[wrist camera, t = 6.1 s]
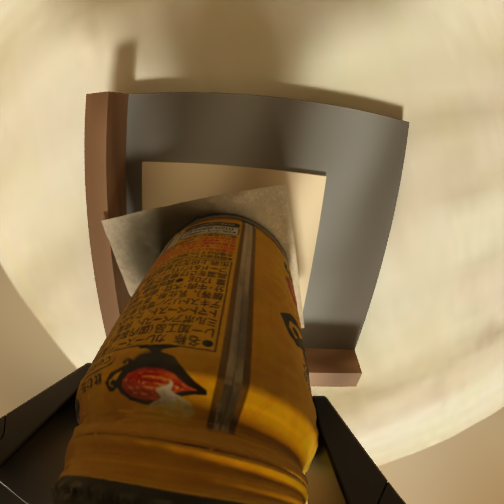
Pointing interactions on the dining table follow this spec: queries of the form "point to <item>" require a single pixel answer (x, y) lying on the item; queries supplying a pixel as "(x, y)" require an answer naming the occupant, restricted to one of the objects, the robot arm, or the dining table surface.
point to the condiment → (199, 363)
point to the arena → (254, 177)
